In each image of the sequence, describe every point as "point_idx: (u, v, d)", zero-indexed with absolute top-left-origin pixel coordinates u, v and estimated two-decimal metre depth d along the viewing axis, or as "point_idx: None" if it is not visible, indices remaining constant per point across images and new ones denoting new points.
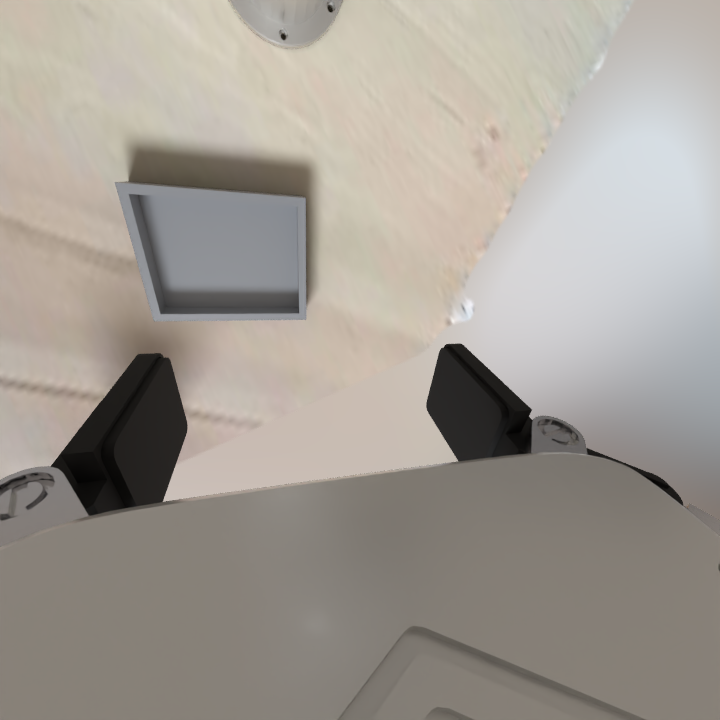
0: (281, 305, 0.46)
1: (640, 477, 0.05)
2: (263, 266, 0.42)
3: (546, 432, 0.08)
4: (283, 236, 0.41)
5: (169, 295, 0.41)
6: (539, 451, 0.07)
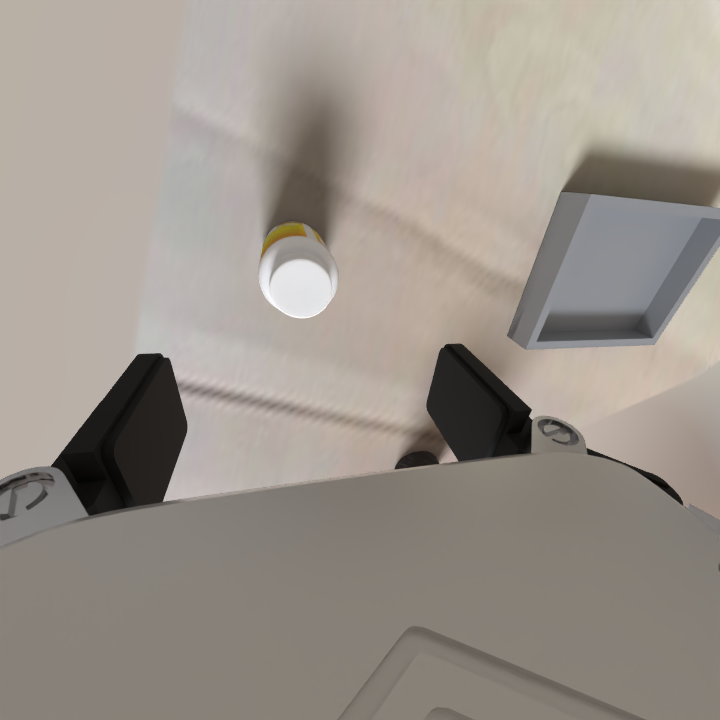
0: (621, 328, 0.41)
1: (640, 477, 0.05)
2: (631, 286, 0.37)
3: (546, 432, 0.08)
4: (669, 253, 0.36)
5: None
6: (539, 451, 0.07)
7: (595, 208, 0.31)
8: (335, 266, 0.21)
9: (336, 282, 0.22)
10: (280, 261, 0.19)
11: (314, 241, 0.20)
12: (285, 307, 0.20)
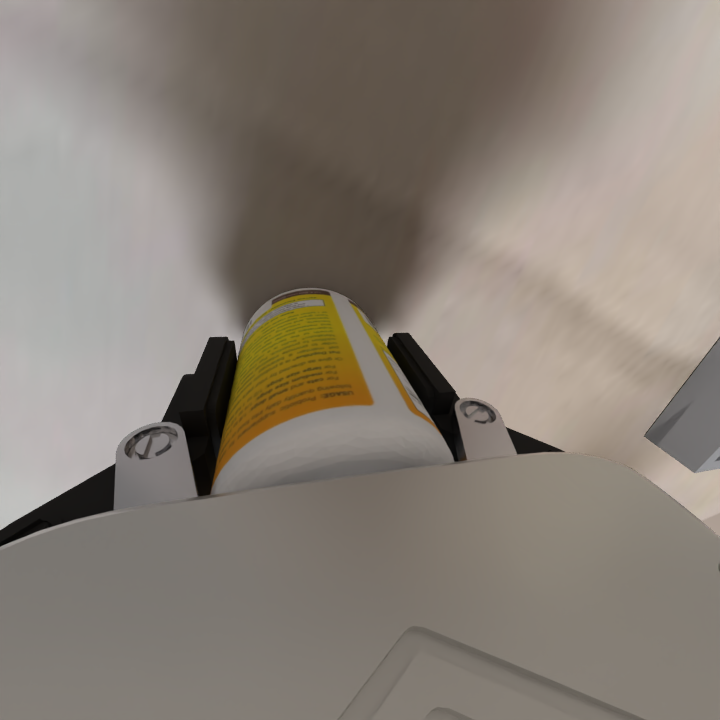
0: None
1: (640, 477, 0.05)
2: None
3: (468, 415, 0.08)
4: None
5: None
6: (468, 437, 0.07)
7: None
8: None
9: None
10: None
11: (402, 423, 0.06)
12: None
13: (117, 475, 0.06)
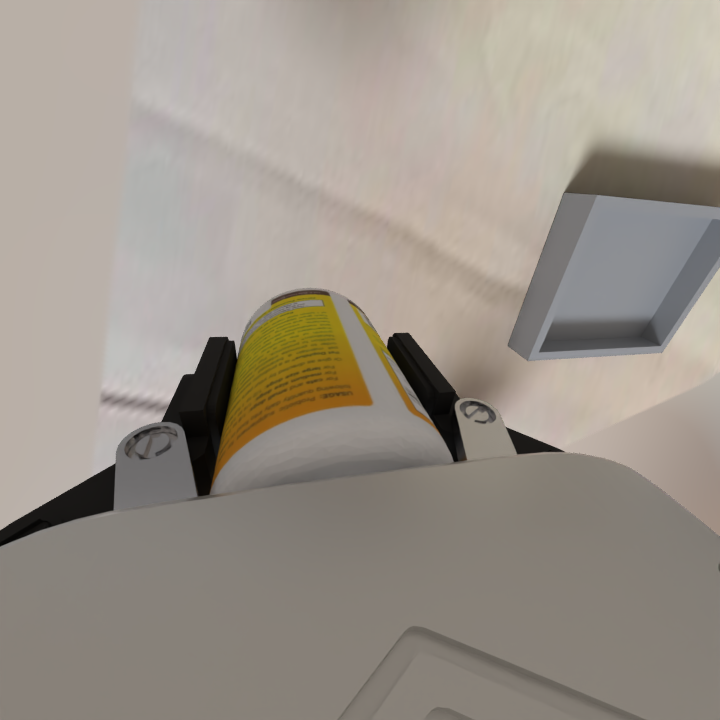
0: (627, 335, 0.39)
1: (640, 477, 0.05)
2: (638, 291, 0.35)
3: (468, 415, 0.08)
4: (678, 256, 0.34)
5: None
6: (468, 437, 0.07)
7: (600, 210, 0.29)
8: None
9: None
10: None
11: (401, 424, 0.06)
12: None
13: (117, 475, 0.06)
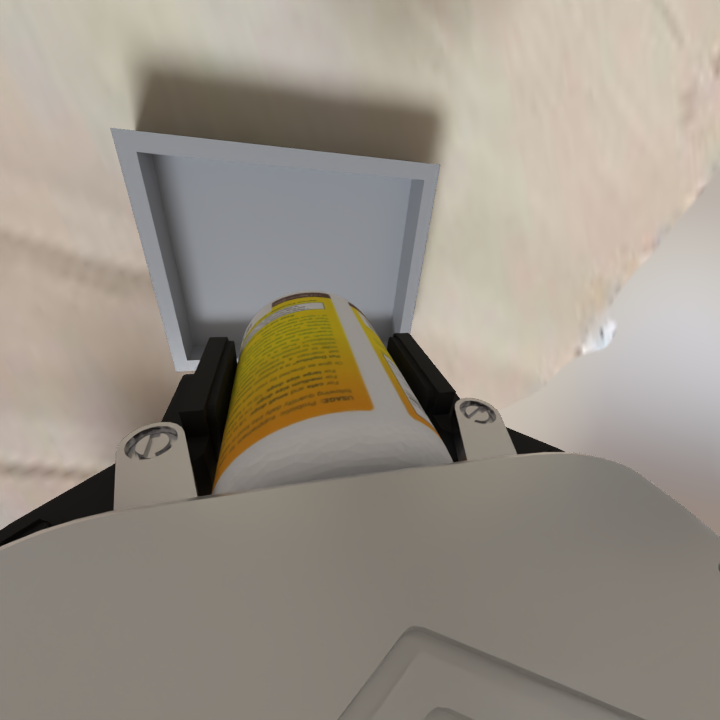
0: None
1: (640, 477, 0.05)
2: (347, 280, 0.27)
3: (468, 415, 0.08)
4: (384, 232, 0.25)
5: (199, 328, 0.26)
6: (468, 437, 0.07)
7: (201, 161, 0.20)
8: None
9: None
10: None
11: (402, 429, 0.06)
12: None
13: (117, 475, 0.06)
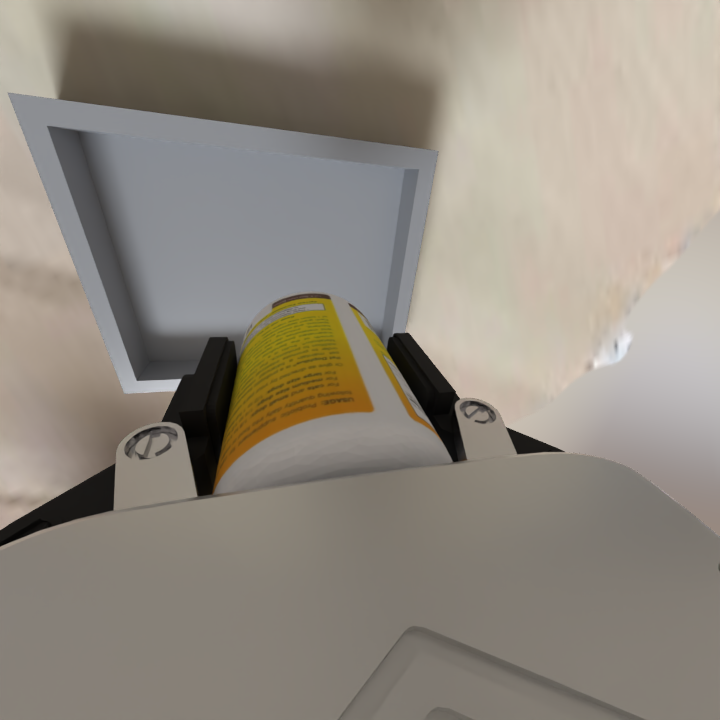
0: None
1: (640, 477, 0.05)
2: (328, 287, 0.23)
3: (468, 415, 0.08)
4: (372, 232, 0.21)
5: (154, 341, 0.22)
6: (468, 437, 0.07)
7: (142, 141, 0.16)
8: None
9: None
10: None
11: (402, 430, 0.06)
12: None
13: (117, 475, 0.06)
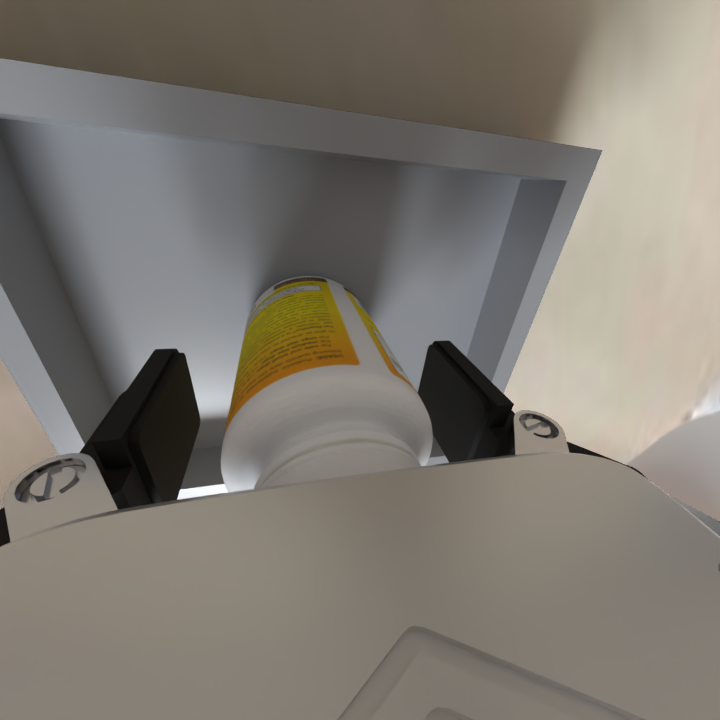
0: None
1: (640, 477, 0.05)
2: (391, 347, 0.16)
3: (528, 426, 0.08)
4: (460, 271, 0.15)
5: None
6: (523, 446, 0.07)
7: (111, 137, 0.10)
8: (430, 430, 0.08)
9: (427, 461, 0.08)
10: (283, 481, 0.06)
11: (382, 380, 0.07)
12: None
13: None
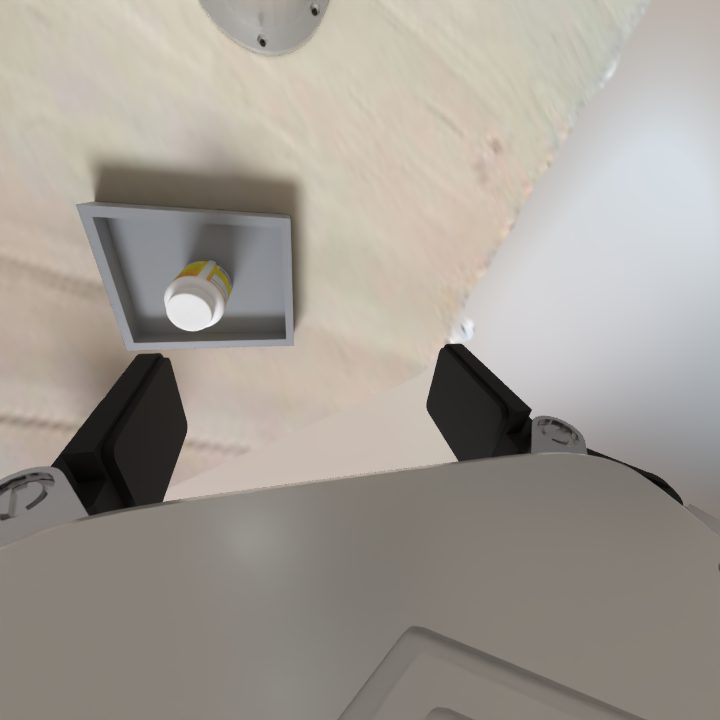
0: (267, 329, 0.42)
1: (640, 477, 0.05)
2: (246, 289, 0.39)
3: (546, 432, 0.08)
4: (268, 258, 0.38)
5: (144, 321, 0.38)
6: (539, 451, 0.07)
7: None
8: (218, 295, 0.31)
9: (221, 306, 0.31)
10: (173, 294, 0.29)
11: (201, 279, 0.30)
12: (179, 324, 0.29)
13: None
